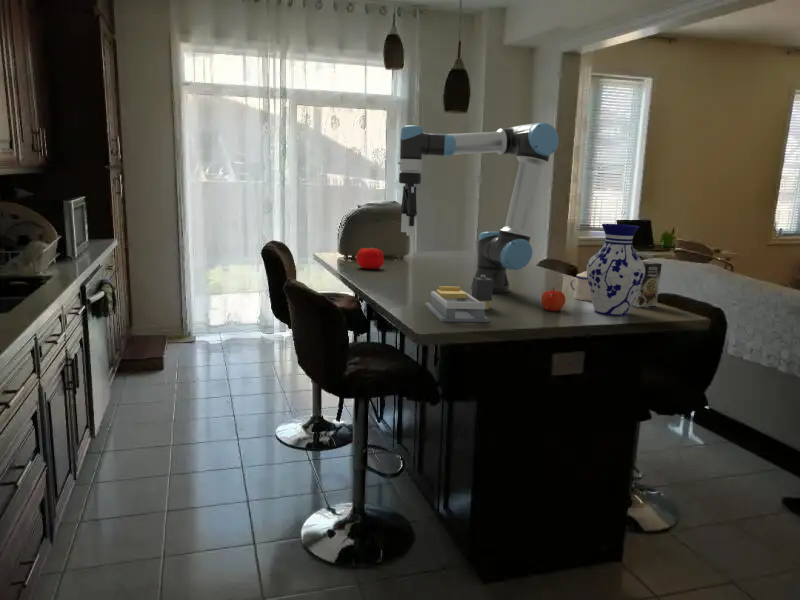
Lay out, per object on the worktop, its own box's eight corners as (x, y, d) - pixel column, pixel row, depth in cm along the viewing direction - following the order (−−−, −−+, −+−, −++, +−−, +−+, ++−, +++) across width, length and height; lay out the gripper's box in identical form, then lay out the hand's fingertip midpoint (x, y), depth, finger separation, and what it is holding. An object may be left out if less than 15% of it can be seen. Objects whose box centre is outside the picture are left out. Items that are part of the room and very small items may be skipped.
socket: (467, 305, 220) (468, 288, 219) (489, 322, 196) (490, 302, 195) (424, 305, 217) (425, 288, 216) (441, 321, 194) (442, 302, 192)
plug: (486, 306, 221) (488, 274, 219) (490, 309, 216) (493, 276, 214) (471, 306, 220) (473, 273, 218) (475, 309, 215) (477, 276, 213)
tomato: (382, 271, 293) (383, 248, 291) (355, 269, 293) (356, 247, 291) (383, 267, 304) (384, 246, 302) (357, 266, 304) (357, 245, 302)
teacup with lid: (602, 299, 244) (606, 269, 242) (591, 302, 238) (594, 271, 236) (574, 295, 253) (577, 265, 251) (562, 297, 246) (565, 267, 244)
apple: (560, 313, 214) (562, 290, 212) (537, 310, 218) (539, 287, 217) (567, 310, 221) (569, 287, 219) (544, 307, 225) (546, 284, 223)
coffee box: (639, 308, 231) (644, 263, 228) (625, 304, 236) (630, 261, 233) (657, 307, 235) (662, 263, 232) (643, 303, 241) (648, 261, 238)
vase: (608, 320, 208) (618, 227, 202) (570, 308, 225) (579, 222, 219) (652, 317, 215) (663, 228, 210) (613, 306, 232) (622, 223, 227)
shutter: (461, 294, 216) (461, 286, 216) (466, 298, 210) (466, 290, 209) (436, 294, 215) (436, 286, 214) (440, 297, 208) (441, 289, 208)
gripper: (394, 171, 232) (392, 230, 236) (404, 171, 208) (401, 236, 212) (415, 172, 233) (412, 231, 237) (427, 172, 209) (424, 237, 213)
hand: (407, 233), depth 224 cm, fingers open, 13 cm apart
